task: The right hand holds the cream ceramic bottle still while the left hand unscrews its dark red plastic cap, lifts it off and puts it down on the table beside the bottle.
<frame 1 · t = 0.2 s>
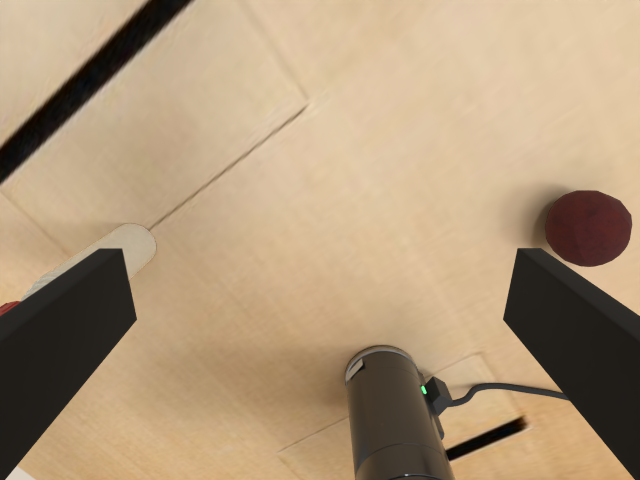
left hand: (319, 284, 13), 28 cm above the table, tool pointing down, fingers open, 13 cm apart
bottle: (134, 244, 42), on the table
dark red ball: (564, 216, 41), on the table
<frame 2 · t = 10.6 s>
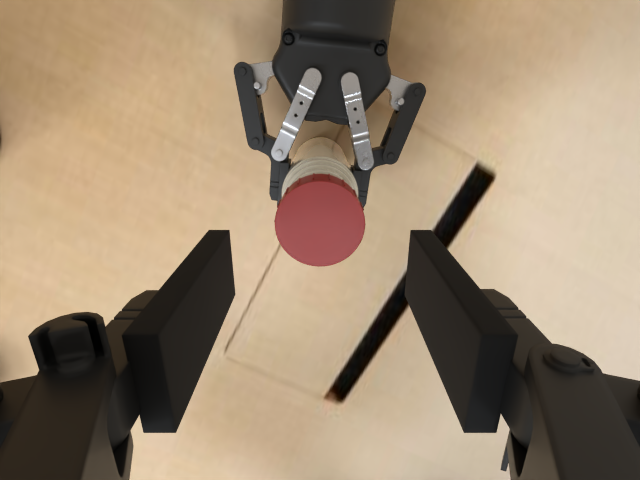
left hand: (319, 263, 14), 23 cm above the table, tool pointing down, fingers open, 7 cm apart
right hand: (317, 208, 31), fingers closed on bottle, 5 cm apart
cap: (319, 223, 19), point 18 cm above the table, screwed on, not yet turned
bottle: (320, 163, 36), on the table, touching right hand
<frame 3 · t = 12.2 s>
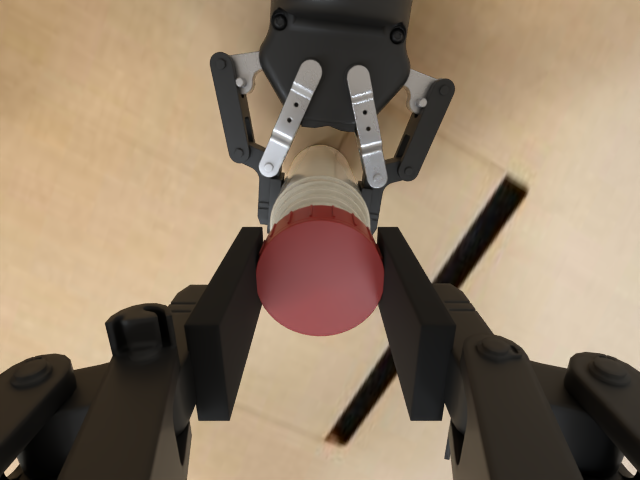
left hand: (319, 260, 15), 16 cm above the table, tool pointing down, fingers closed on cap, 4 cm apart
right hand: (316, 233, 25), fingers closed on bottle, 5 cm apart
cap: (320, 277, 13), point 18 cm above the table, screwed on, not yet turned, touching left hand
bottle: (320, 176, 30), on the table, touching right hand
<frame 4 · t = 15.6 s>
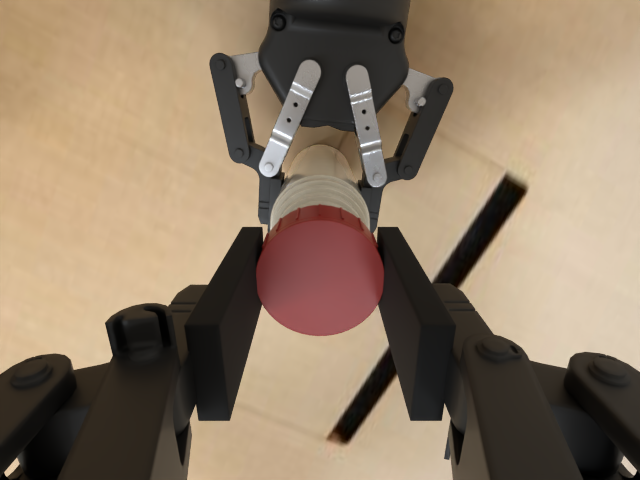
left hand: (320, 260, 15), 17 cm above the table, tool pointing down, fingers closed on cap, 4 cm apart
right hand: (316, 232, 25), fingers closed on bottle, 5 cm apart
cap: (320, 277, 13), point 18 cm above the table, turned 112° so far, risen 0.1 cm, still on its thread, touching left hand
bottle: (320, 175, 30), on the table, touching right hand
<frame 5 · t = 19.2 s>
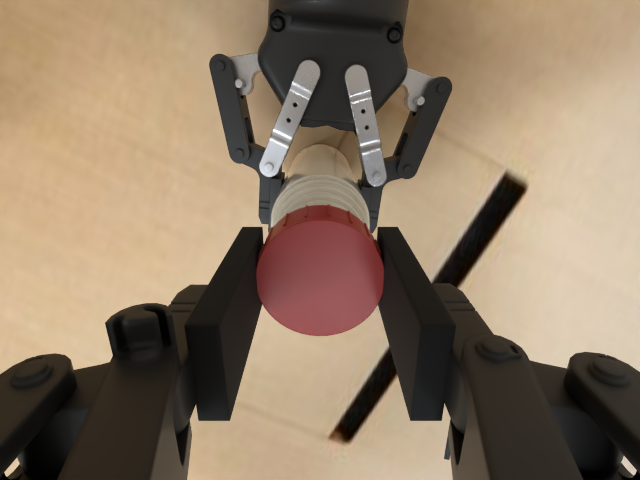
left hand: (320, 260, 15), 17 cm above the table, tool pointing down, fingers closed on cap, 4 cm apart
right hand: (317, 232, 25), fingers closed on bottle, 5 cm apart
cap: (320, 277, 13), point 18 cm above the table, turned 224° so far, risen 0.2 cm, still on its thread, touching left hand
bottle: (320, 175, 30), on the table, touching right hand
when the left hand's fingers open (1 cm above the table, at t = 30.1 s): cap drops 1 cm, point 2 cm above the table.
when the right hand's fingers open (6 cm above the table, at t = 31.4 s): bottle stays where it is, on the table.
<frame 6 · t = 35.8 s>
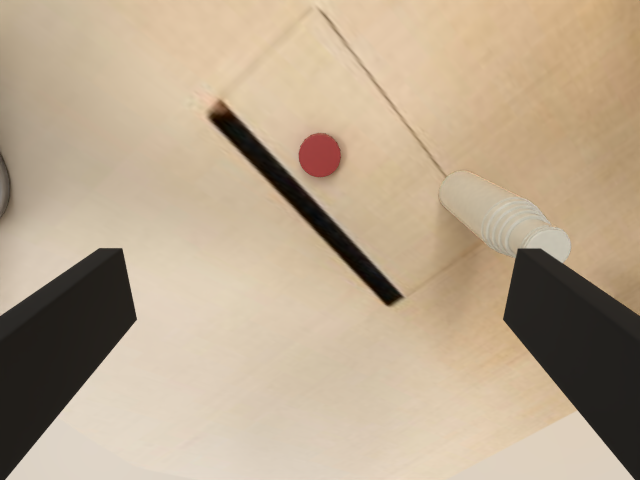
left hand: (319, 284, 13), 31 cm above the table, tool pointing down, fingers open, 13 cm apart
cap: (319, 155, 40), point 2 cm above the table, off its thread
bottle: (460, 191, 43), on the table
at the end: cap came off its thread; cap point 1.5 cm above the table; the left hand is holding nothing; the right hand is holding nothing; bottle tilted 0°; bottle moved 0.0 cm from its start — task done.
